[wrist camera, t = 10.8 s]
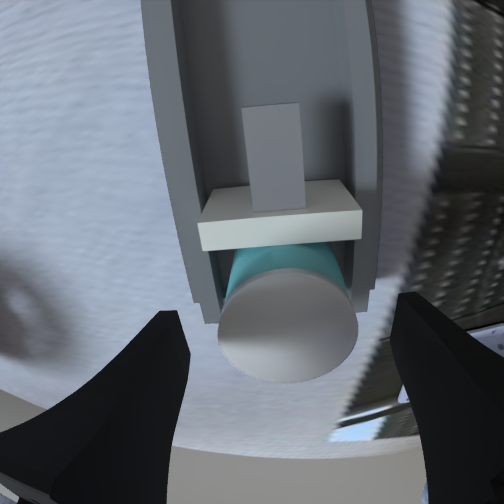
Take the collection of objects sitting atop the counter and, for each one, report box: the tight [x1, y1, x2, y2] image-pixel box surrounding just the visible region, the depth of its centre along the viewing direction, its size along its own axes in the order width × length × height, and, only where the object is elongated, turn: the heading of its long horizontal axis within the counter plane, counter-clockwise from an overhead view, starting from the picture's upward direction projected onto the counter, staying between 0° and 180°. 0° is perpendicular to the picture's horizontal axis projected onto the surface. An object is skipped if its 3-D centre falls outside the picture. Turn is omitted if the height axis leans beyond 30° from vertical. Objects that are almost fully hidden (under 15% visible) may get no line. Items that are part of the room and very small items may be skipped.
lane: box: [141, 0, 383, 324], centre depth 13 cm, size 11×22×4 cm, turn 6°
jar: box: [218, 241, 358, 383], centre depth 14 cm, size 5×5×7 cm
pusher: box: [197, 102, 362, 251], centre depth 13 cm, size 6×5×4 cm
